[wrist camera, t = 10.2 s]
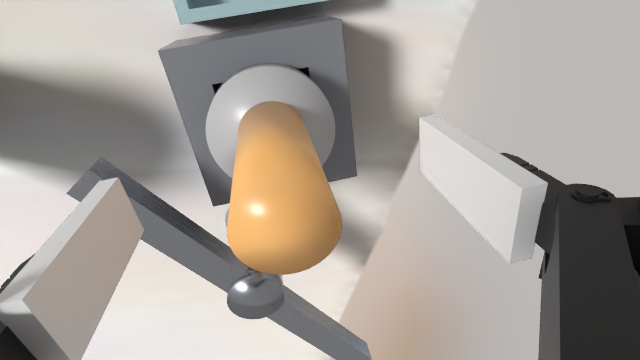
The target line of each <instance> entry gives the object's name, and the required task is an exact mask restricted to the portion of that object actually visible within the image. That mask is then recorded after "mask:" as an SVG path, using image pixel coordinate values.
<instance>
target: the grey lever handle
mask: <svg viewBox="0 0 640 360" xmlns="http://www.w3.org/2000/svg"><path fill="white" fill-rule="evenodd" d="M117 177H118V178H119V180H120V182H121V184H122V186H123V188H124V190H125V192H126V194H127V196H128V198H129V200H130V202H131V204H132V207H133V209H134V211H135V213H136V215H137V217H138V219H139V221H140V223H141V225H142V227H143V229H144V231H143V234H142V236H141V238H140V239H141V240H143V241H144V242H146V243H148V244H149V245H151V246H153V247H154V248H156V249H157V250H159V251H161V252H162V253H164V254H166V255H167V256H169V257H170V258H172V259H174V260H175V261H177V262H178V263H180V264H182V265H183V266H185V267H187V268H188V269H190V270H191V271H193V272H195V273H196V274H198V275H200V276H201V277H203V278H204V279H206V280H208V281H209V282H211V283H213V284H214V285H216V286H217V287H219V288H221V289H222V290H224V291H226V292H227V293H228V295H227V304H228V307H229V309H230V310H231V311H232V312H233V313H234V314H236V315H237V316H239V317H242V318H246V319H260V318H264V317H268V318H269V319H271V320H273V321H274V322H276V323H277V324H279V325H281V326H282V327H284V328H286V329H287V330H289V331H290V332H292V333H294V334H295V335H297V336H299V337H300V338H302V339H303V340H305V341H307V342H308V343H310V344H312V345H313V346H315V347H316V348H318V349H320V350H321V351H323V352H325V353H326V354H328V355H329V356H331V357H333V358H334V359H336V360H371V355H370V353H369V349H368V346H367V343H366V342H364V341H363V340H362V339H360V338H359V337H357V336H356V335H354V334H353V333H352V332H350V331H349V330H347V329H346V328H344V327H343V326H342V325H340V324H339V323H337V322H336V321H334V320H333V319H332V318H330V317H329V316H327V315H326V314H324V313H323V312H322V311H320V310H319V309H317V308H316V307H314V306H313V305H312V304H310V303H309V302H307V301H306V300H304V299H303V298H302V297H300V296H299V295H297V294H296V293H294V292H293V291H292V290H290V289H289V288H287V287H286V286H284V285H283V280H282V275H277V274H268V273H263V272H260V271H257V270H254V269H252V268H250V267H248V266H247V265H245V264H244V263H242V262H241V261H240V260H239V259H238V258H237V257H236V256H235V254H234V253H233V251H232V250H231V248H230V247H229V246H227V245H226V244H224V243H223V242H222V241H220V240H219V239H217V238H216V237H214V236H213V235H212V234H210V233H209V232H207V231H206V230H204V229H203V228H202V227H200V226H199V225H197V224H196V223H194V222H193V221H192V220H190V219H189V218H187V217H186V216H184V215H183V214H182V213H180V212H179V211H177V210H176V209H174V208H173V207H172V206H170V205H169V204H167V203H166V202H164V201H163V200H162V199H160V198H159V197H157V196H156V195H154V194H153V193H152V192H150V191H149V190H147V189H146V188H144V187H143V186H142V185H140V184H139V183H137V182H136V181H134V180H133V179H132V178H130V177H129V176H127V175H126V174H124V173H123V172H122V171H120V170H119V169H117V168H116V167H114V166H113V165H112V164H110V163H109V162H107V161H106V160H104V159H103V158H102V157H101V158H100V159H99V160H98V161H97V162H96V163H95V164H94V166H93V167H92V168H91V169H90V170H89V171H88V172H87V173H86V174H85V175H84V176H83V177H82V178H81V179H80V180H79V181H78V182H77V183H76V184H75V185H74V186H73V187H72V188H71V189H70V190H69V191H68V192H67V194H68V195H70V196H71V197H73V198H75V199H76V200H78V201H80V202H81V201H82V200H83V199H84V198H85V197H86V196H87V194H88V193H89V192H90V191H91V190H92V189H93V188H94V186H95V185H96V184H97V183H98V182H99V181H102V180H107V179H112V178H117Z"/></svg>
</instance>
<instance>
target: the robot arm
mask: <svg viewBox="0 0 640 360" xmlns="http://www.w3.org/2000/svg"><path fill="white" fill-rule="evenodd" d="M419 152H420V173H421V174H422V175H423V176H424V177H425V178H426V179H427V180H428V181H429V182H430V183H431V184H432V185H433V186H434V187H435V188H436V189H437V190H438V191H439V192H440V193H441V194H442V195H443V196H444V197H445V198H446V199H447V200H448V201H449V202H450V203H451V204H452V205H453V207H455V208H456V210H457V211H458V212H459V213H460V214H461V215H462V216H463V217H464V218H465V219H466V220H467V221H468V222H469V223H470V224H471V225H472V226H473V227H474V228H475V229H476V230H477V231H478V232H479V233H480V234H481V235H482V236H483V237H484V238H485V239H486V240H487V241H488V242H489V243H490V244H491V245H492V246H493V247H494V248H495V249H496V250H497V251H498V252H499V253H500V254H501V255H502V257H504V258H505V259H506V261H507V262H508V263H514V262H518V261H523V260H527V259H531V258H532V256H533V251H534V247H535V243H537V244H538V245H539V246H540V247H541V248H542V249H544V250H545V253H544V257H543V261H542V266H541V270H540V274H539V278H540V279H542V289H541V312H540V335H539V358H538V360H640V197H628V198H616V197H615V196H614V194H612V193H610V192H609V191H607V190H605V189H602V188H600V187H597V186H592V185H587V184H570V185H565V184H564V183H562V182H560V181H558V180H557V179H555V178H554V177H552V176H550V175H548V174H547V173H545V172H543V171H542V170H538V168H536V167H535V166H533V165H529V163H528V162H526V161H524V160H523V159H521V158H519V157H517V156H513V155H510V154H507V153H498V152H497V151H495V150H493V149H492V148H490V147H488V146H487V145H485V144H483V143H482V142H480V141H479V140H477V139H475V138H474V137H472V136H470V135H469V134H467V133H466V132H464V131H462V130H461V129H459V128H457V127H456V126H454V125H452V124H450V123H449V122H448V121H446V120H444V119H442V118H441V117H439V116H438V115H436V114H435V115H430V116H425V117H420V118H419ZM143 231H144V229H143V227H142V225H141V223H140V221H139V219H138V217H137V215H136V213H135V211H134V209H133V207H132V204H131V202H130V200H129V198H128V196H127V194H126V192H125V190H124V188H123V186H122V184H121V182H120V180H119V178H118V177H117V178H112V179H107V180H102V181H99V182H98V183H97V184H96V185H95V186H94V188H93V189H92V190H91V191H90V192H89V193H88V194H87V196H86V197H85V198H84V199H83V200H82V201H81V202H80V204H79V205H78V206H77V207H76V208H75V209H74V210H73V212H72V213H71V214H70V215H69V216H68V217H67V218H66V219H65V221H64V222H63V223H62V224H61V225H60V226H59V227H58V229H57V230H56V231H55V232H54V233H53V234H52V235H51V237H50V238H49V239H48V240H47V241H46V242H45V243H44V245H43V246H42V247H41V248H40V249H39V250H38V251H37V253H35V254H34V255H33V256H31V257H30V258H29V259H27V260H26V261H25V262H23V263H22V264H21V265H20V266H19V267H18V268H17V269H16V270H15V271H14V272H13V273H12V275H11V276H10V279H7V280H6V281H5V282H4V283H3V285H2V286H1V289H0V360H81V358H82V356H83V354H84V352H85V350H86V348H87V346H88V344H89V342H90V340H91V338H92V336H93V334H94V332H95V330H96V328H97V326H98V324H99V322H100V320H101V318H102V315H103V313H104V311H105V309H106V307H107V305H108V303H109V301H110V299H111V297H112V295H113V293H114V291H115V289H116V287H117V285H118V283H119V281H120V279H121V277H122V274H123V272H124V270H125V268H126V266H127V264H128V262H129V260H130V258H131V256H132V254H133V252H134V250H135V248H136V246H137V244H138V242H139V240H140V238H141V236H142V234H143Z"/></svg>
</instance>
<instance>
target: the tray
mask: <svg viewBox="0 0 640 360" xmlns="http://www.w3.org/2000/svg"><path fill="white" fill-rule="evenodd" d="M321 1H327V0H173V2H174V5H175V8H176V11H177V15H178V18H179V21H180V24H187V23H194V22H200V21H206V20H212V19H218V18H224V17H230V16H236V15H242V14H248V13H254V12H260V11H266V10H272V9H278V8H284V7H291V6H297V5H303V4H309V3H315V2H321Z"/></svg>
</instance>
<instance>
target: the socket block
mask: <svg viewBox="0 0 640 360" xmlns="http://www.w3.org/2000/svg"><path fill="white" fill-rule="evenodd" d="M158 52H159V55H160V58H161V61H162V63H163V66H164V69H165V72H166V75H167V77H168V80H169V83H170V86H171V89H172V92H173V94H174V97H175V100H176V103H177V106H178V108H179V111H180V114H181V117H182V120H183V122H184V125H185V128H186V131H187V134H188V137H189V139H190V142H191V145H192V148H193V151H194V153H195V156H196V159H197V162H198V165H199V168H200V170H201V173H202V176H203V179H204V182H205V184H206V187H207V190H208V193H209V196H210V198H211V201H212V204H213V206H218V205H223V204H227V203H230V197H231V189H232V180H233V178H231V177H230V176H229V175H227V174H226V173H225V172H224V171H223V170H222V169H221V168H220V167H219V165H218V164H217V163H216V161H215V160H214V158H213V156H212V154H211V152H210V150H209V147H208V144H207V139H206V130H205V129H206V119H207V114H208V111H209V108H210V105H211V103H212V100H213V98H214V96H215V94H216V92H217V90H218V89H219V88H220V86H221V85H222V84H223V83H224V82H225V81H226V80H227V79H228V78H229V77H230V76H231V75H233V74H234V73H235V72H237V71H239V70H241V69H243V68H246V67H248V66H251V65H256V64H261V63H277V64H282V65H286V66H289V67H292V68H295V69H297V70H299V71H301V72H302V73H304V74H305V75H307V76H308V77H309V78H310V79H311V80H313V81H314V82H315V84H316V85H317V86H318V87H319V88H320V90H321V91H322V93H323V94H324V96H325V97H326V99H327V100H328V102H329V104H330V106H331V109H332V112H333V115H334V120H335V140H334V144H333V147H332V150H331V152H330V155H329V156H328V158H327V160H326V162H325V163H324V164H323V166H322V168H323V171H324V173H325V176H326V179H327V181H328V182H331V181H336V180H341V179H346V178H350V177H355V176H357V171H356V161H355V151H354V141H353V131H352V121H351V111H350V100H349V90H348V80H347V70H346V60H345V50H344V40H343V30H342V20H341V19H338V18H334V17H329V16H319V17H313V18H307V19H301V20H295V21H289V22H284V23H278V24H272V25H266V26H260V27H254V28H248V29H242V30H236V31H230V32H224V33H218V34H212V35H206V36H201V37H195V38H189V39H183V40H177V41H175V42H173V43H171V44H169V45H167V46H165V47H163V48H162V49H160V50H158ZM228 215H229V209H228V211H227V214H226V227H227V224H228Z"/></svg>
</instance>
